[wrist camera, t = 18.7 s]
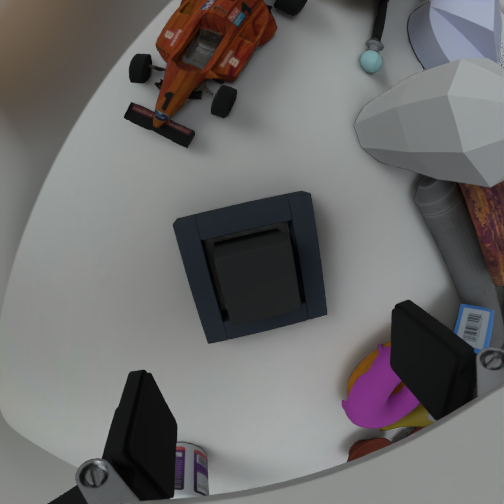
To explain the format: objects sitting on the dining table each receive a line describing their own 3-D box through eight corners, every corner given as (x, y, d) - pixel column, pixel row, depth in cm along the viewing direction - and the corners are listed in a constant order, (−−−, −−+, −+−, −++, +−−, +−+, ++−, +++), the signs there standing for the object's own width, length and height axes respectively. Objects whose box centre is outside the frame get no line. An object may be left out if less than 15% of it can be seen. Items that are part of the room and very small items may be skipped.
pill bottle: (155, 460, 27) (148, 528, 18) (164, 435, 26) (156, 512, 17) (200, 469, 28) (202, 537, 19) (213, 447, 27) (217, 522, 18)
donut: (363, 420, 28) (378, 448, 24) (315, 381, 26) (330, 414, 21) (433, 361, 27) (456, 383, 23) (401, 307, 25) (429, 331, 20)
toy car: (109, 112, 18) (84, 98, 13) (229, -44, 15) (231, -75, 11) (206, 158, 19) (201, 153, 15) (314, -7, 16) (332, -36, 12)
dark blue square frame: (208, 330, 23) (208, 344, 21) (176, 218, 20) (172, 224, 19) (319, 303, 24) (327, 314, 22) (302, 190, 21) (310, 192, 19)
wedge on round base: (423, -26, 16) (398, 50, 18) (459, -50, 9) (447, 25, 12) (482, 27, 18) (467, 110, 20) (522, 15, 11) (519, 105, 14)
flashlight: (461, 156, 18) (449, 192, 17) (516, 349, 26) (505, 383, 24) (414, 169, 23) (395, 203, 21) (487, 346, 30) (474, 378, 28)
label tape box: (434, 388, 18) (419, 428, 25) (479, 399, 15) (450, 437, 22) (460, 301, 22) (444, 363, 29) (498, 308, 19) (472, 370, 26)
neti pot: (488, 362, 25) (475, 382, 29) (376, 406, 29) (376, 419, 33) (499, 392, 22) (484, 408, 26) (383, 440, 25) (382, 448, 29)
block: (228, 300, 23) (231, 326, 19) (214, 242, 21) (213, 259, 17) (288, 286, 23) (302, 309, 19) (277, 227, 21) (290, 241, 18)
